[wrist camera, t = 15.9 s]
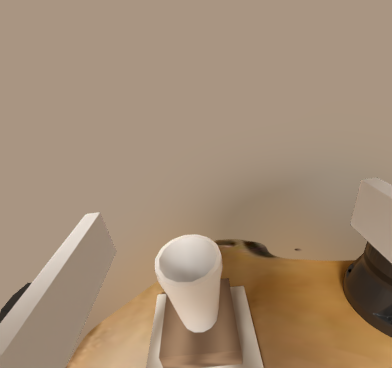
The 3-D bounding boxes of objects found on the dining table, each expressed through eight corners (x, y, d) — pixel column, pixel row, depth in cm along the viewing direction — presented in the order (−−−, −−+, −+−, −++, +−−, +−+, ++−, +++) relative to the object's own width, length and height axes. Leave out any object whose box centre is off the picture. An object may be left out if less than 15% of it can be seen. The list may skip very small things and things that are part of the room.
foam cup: (183, 283, 41) (170, 232, 35) (230, 291, 38) (225, 236, 32) (163, 336, 33) (142, 281, 27) (221, 351, 30) (212, 293, 24)
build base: (243, 290, 44) (242, 272, 41) (264, 375, 31) (264, 356, 29) (159, 298, 44) (153, 281, 42) (146, 385, 32) (137, 367, 30)
